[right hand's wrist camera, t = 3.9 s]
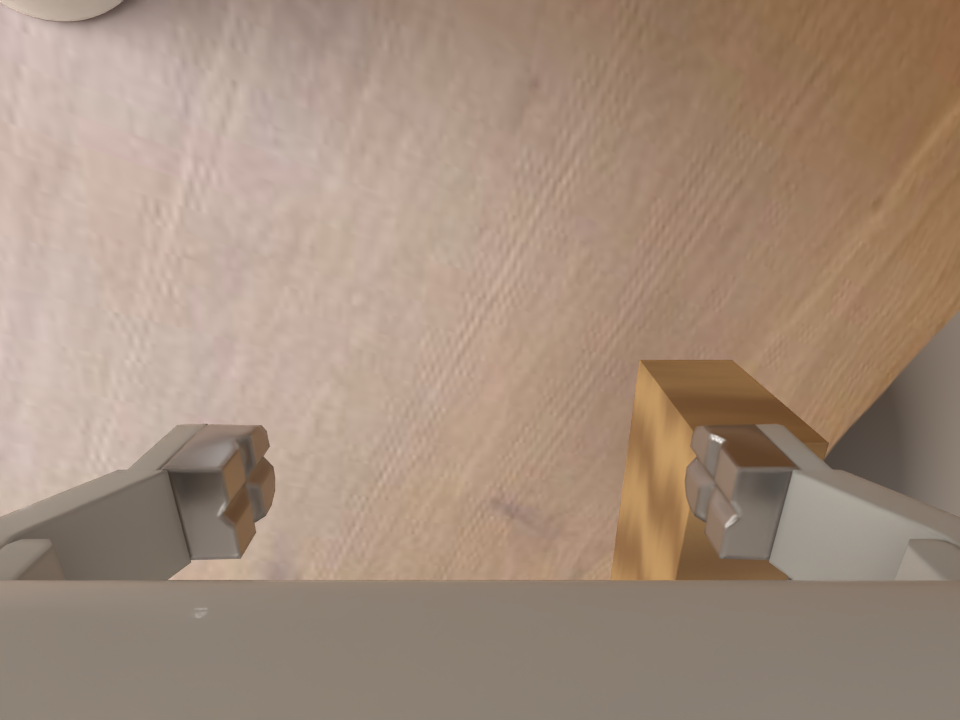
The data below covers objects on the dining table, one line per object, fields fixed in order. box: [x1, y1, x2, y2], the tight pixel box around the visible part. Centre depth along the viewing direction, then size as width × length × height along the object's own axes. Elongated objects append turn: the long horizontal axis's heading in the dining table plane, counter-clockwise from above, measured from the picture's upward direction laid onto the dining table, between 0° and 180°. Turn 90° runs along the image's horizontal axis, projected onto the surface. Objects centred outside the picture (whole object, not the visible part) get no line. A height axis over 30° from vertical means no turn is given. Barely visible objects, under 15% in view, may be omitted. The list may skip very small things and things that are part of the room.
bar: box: [610, 360, 829, 580], centre depth 32 cm, size 25×6×9 cm, turn 0°
